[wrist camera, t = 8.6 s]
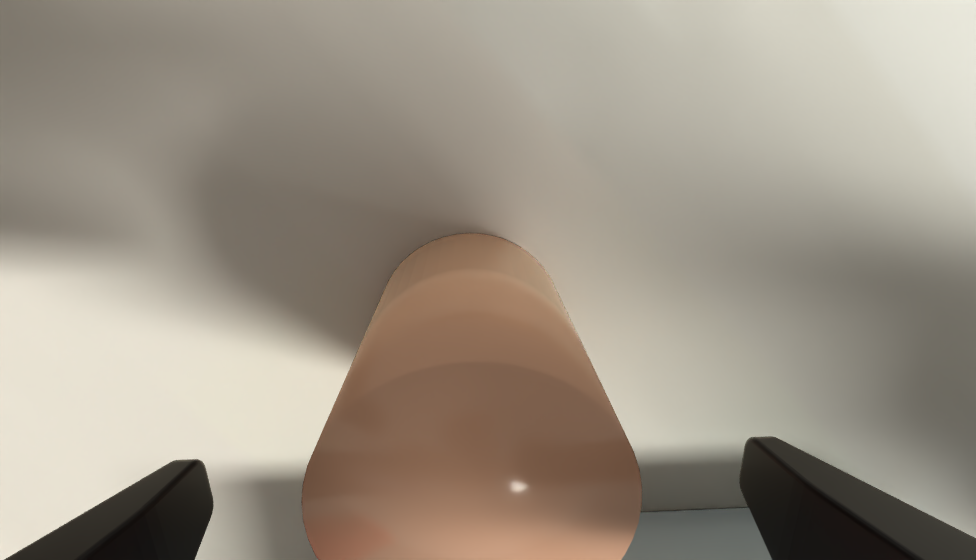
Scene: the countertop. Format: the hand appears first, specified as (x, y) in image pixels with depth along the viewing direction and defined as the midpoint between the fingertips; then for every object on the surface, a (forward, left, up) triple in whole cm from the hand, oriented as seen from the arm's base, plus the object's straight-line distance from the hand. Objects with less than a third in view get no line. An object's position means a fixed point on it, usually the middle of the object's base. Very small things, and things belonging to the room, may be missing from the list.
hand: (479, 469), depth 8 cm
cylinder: (0, 0, -6) cm, 6 cm away
